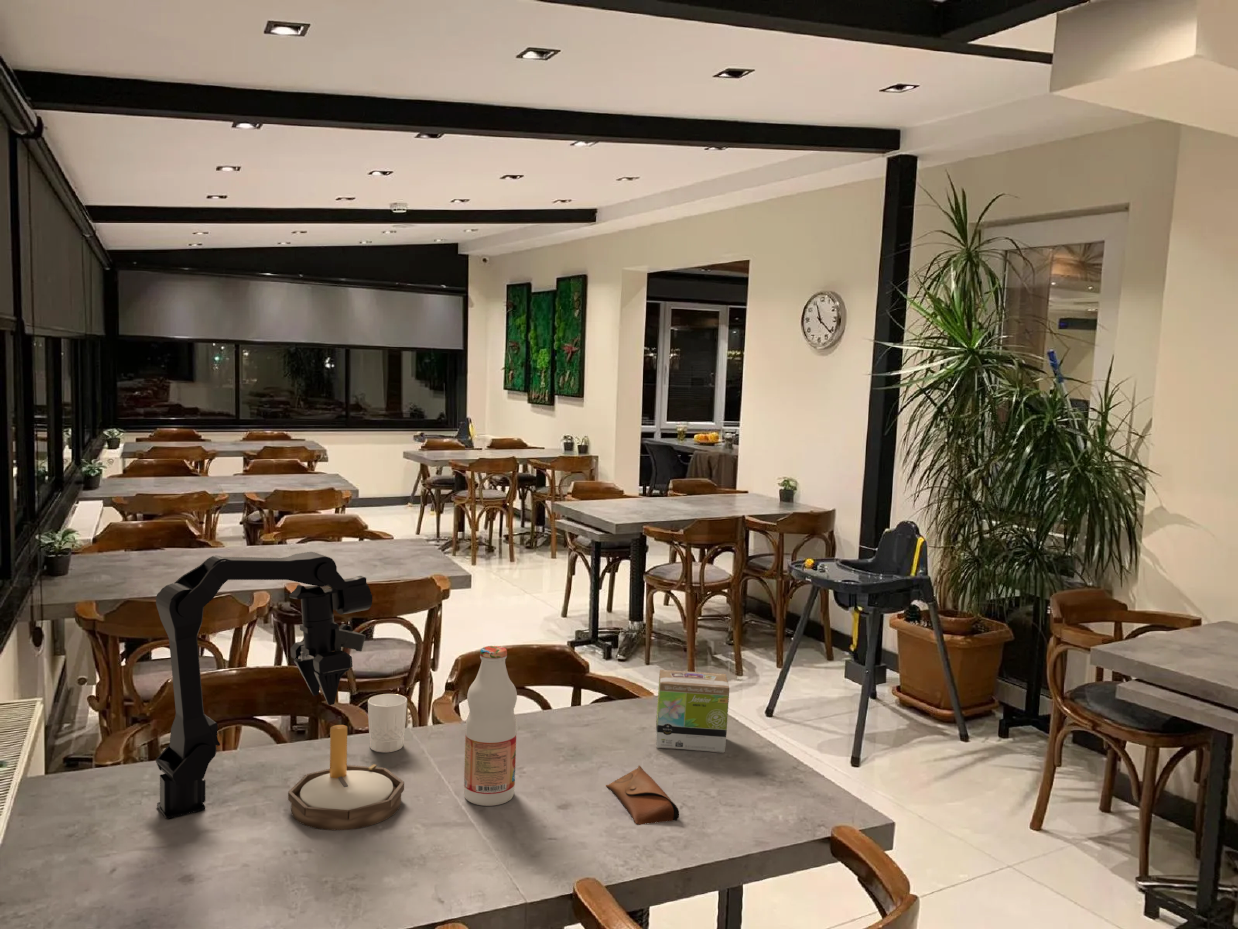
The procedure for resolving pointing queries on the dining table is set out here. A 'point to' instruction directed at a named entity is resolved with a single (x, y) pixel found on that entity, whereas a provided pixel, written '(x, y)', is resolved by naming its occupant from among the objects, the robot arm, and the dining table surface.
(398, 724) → the white cup
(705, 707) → the tea box
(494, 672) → the fruit juice
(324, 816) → the dial housing
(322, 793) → the dial
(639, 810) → the sunglasses case
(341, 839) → the dining table surface
